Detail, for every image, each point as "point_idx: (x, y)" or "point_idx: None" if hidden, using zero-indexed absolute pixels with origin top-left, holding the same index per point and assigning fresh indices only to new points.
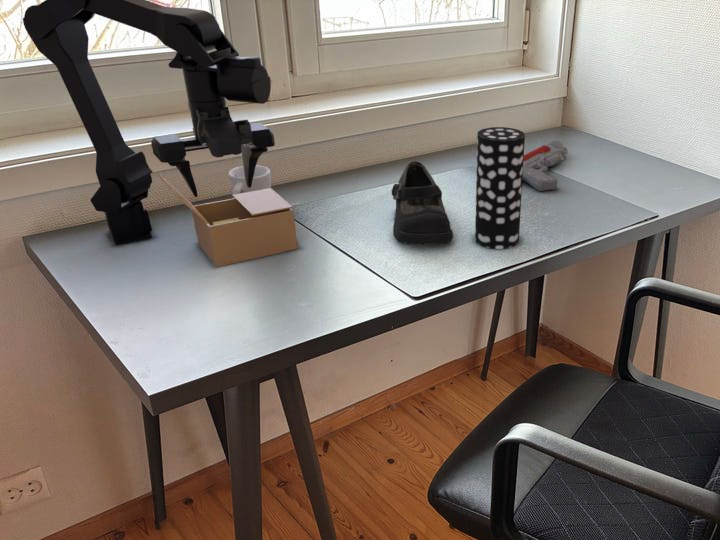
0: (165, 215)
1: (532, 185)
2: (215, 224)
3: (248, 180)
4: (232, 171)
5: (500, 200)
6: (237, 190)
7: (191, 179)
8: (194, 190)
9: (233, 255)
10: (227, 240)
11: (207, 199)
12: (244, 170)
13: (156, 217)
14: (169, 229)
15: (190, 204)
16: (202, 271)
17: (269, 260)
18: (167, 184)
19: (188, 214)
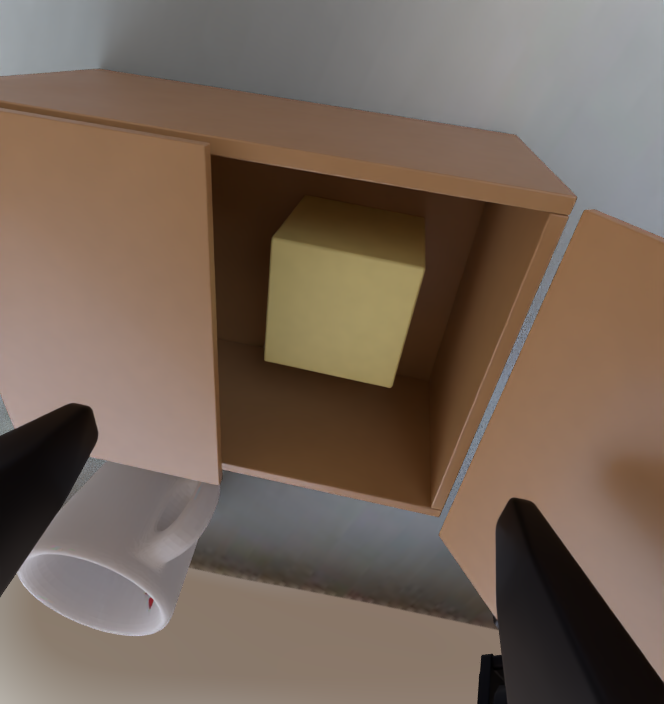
0: (396, 577)
1: None
2: (393, 357)
3: (40, 444)
4: (149, 625)
5: None
6: (178, 531)
7: (615, 686)
8: (549, 551)
9: (422, 125)
10: (444, 145)
11: (260, 579)
12: (15, 559)
13: (422, 581)
14: (439, 517)
15: (571, 467)
16: (598, 135)
17: (266, 25)
18: None
19: (343, 550)
